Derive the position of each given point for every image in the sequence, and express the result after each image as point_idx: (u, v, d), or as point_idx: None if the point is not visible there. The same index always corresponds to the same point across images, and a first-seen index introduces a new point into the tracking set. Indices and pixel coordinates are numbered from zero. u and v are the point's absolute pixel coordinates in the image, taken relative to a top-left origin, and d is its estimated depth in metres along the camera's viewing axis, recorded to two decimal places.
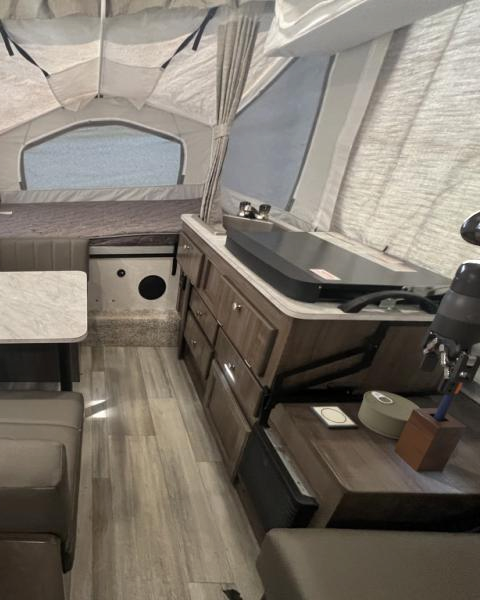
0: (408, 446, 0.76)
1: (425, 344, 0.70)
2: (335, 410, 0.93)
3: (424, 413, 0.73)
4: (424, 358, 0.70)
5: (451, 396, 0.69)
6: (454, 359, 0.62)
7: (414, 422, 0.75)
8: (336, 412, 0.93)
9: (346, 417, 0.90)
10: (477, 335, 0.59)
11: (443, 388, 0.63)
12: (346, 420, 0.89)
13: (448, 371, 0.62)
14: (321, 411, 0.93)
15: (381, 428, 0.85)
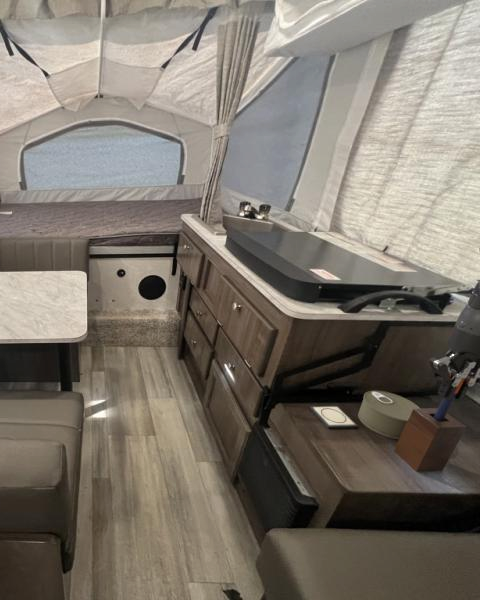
0: (408, 446, 0.76)
1: None
2: (335, 410, 0.93)
3: (424, 413, 0.73)
4: None
5: None
6: (450, 365, 0.67)
7: (414, 422, 0.75)
8: (336, 412, 0.93)
9: (346, 417, 0.90)
10: (463, 343, 0.64)
11: None
12: (346, 420, 0.89)
13: None
14: (321, 411, 0.93)
15: (381, 428, 0.85)
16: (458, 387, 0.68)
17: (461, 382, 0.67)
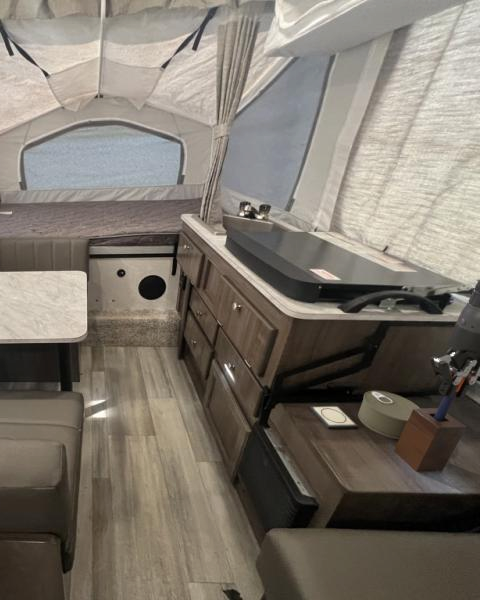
0: (408, 446, 0.76)
1: None
2: (335, 410, 0.93)
3: (424, 413, 0.73)
4: None
5: None
6: (451, 363, 0.67)
7: (414, 422, 0.75)
8: (336, 412, 0.93)
9: (346, 417, 0.90)
10: (464, 341, 0.63)
11: None
12: (346, 420, 0.89)
13: None
14: (321, 411, 0.93)
15: (381, 428, 0.85)
16: (459, 385, 0.68)
17: (462, 380, 0.67)
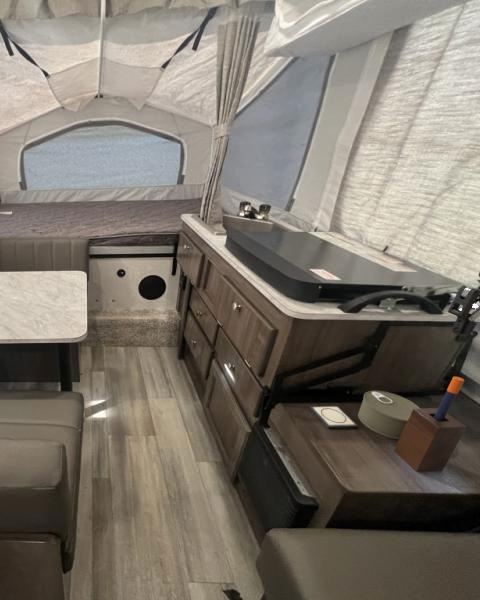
0: (408, 446, 0.76)
1: None
2: (335, 410, 0.93)
3: (424, 413, 0.73)
4: None
5: (451, 396, 0.69)
6: None
7: (414, 422, 0.75)
8: (336, 412, 0.93)
9: (346, 417, 0.90)
10: None
11: None
12: (346, 420, 0.89)
13: (462, 308, 0.63)
14: (321, 411, 0.93)
15: (381, 428, 0.85)
16: (458, 387, 0.68)
17: (461, 382, 0.67)
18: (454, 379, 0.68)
